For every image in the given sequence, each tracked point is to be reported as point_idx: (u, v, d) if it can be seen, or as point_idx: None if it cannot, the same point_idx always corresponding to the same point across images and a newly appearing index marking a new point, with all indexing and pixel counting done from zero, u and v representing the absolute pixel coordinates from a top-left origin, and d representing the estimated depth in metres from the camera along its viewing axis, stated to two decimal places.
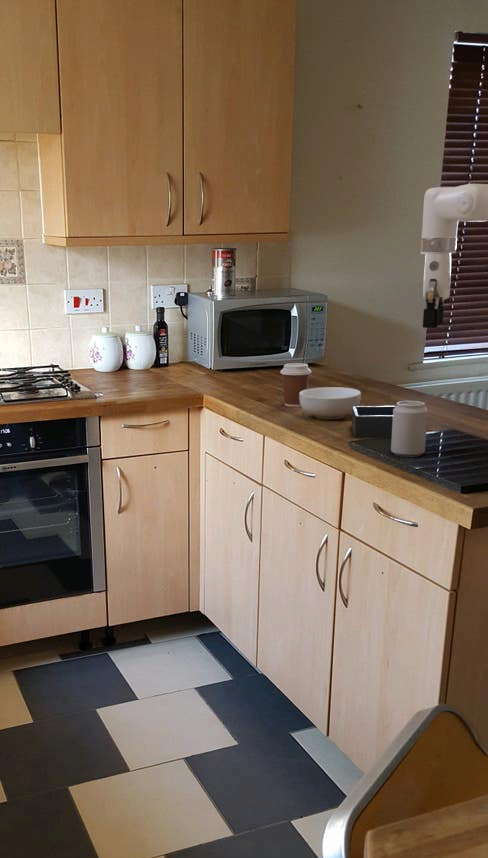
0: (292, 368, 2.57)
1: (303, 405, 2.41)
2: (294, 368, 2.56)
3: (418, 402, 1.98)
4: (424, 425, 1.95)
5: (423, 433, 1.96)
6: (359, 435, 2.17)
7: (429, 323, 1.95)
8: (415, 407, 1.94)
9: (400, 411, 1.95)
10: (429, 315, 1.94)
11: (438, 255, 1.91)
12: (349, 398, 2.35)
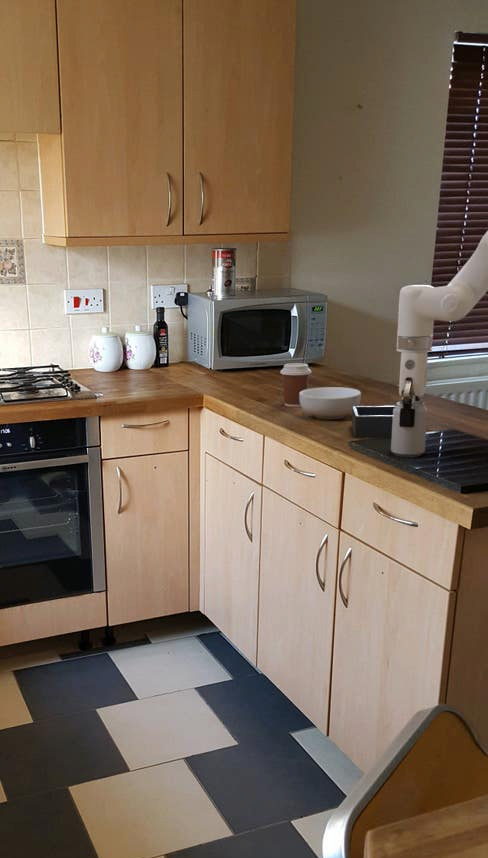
0: (292, 368, 2.57)
1: (303, 405, 2.41)
2: (294, 368, 2.56)
3: (418, 402, 1.98)
4: (424, 425, 1.95)
5: (423, 433, 1.96)
6: (359, 435, 2.17)
7: (405, 423, 1.93)
8: (415, 407, 1.94)
9: None
10: (406, 415, 1.93)
11: (414, 354, 1.88)
12: (349, 398, 2.35)
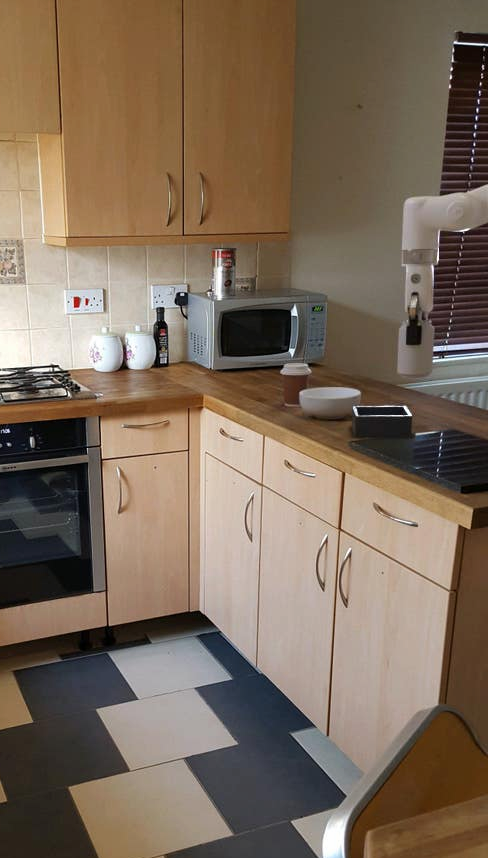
0: (292, 368, 2.57)
1: (303, 405, 2.41)
2: (294, 368, 2.56)
3: (424, 321, 1.92)
4: (431, 343, 1.90)
5: (430, 352, 1.90)
6: (359, 435, 2.17)
7: (412, 340, 1.87)
8: (421, 324, 1.88)
9: None
10: (412, 332, 1.87)
11: (419, 267, 1.83)
12: (349, 398, 2.35)
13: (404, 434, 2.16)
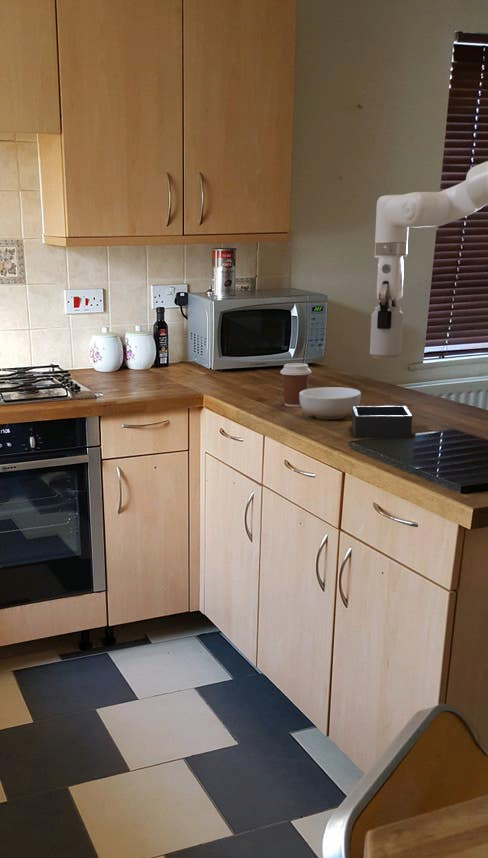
0: (292, 368, 2.57)
1: (303, 405, 2.41)
2: (294, 368, 2.56)
3: (394, 307, 2.13)
4: (400, 327, 2.11)
5: (399, 335, 2.11)
6: (359, 435, 2.17)
7: (383, 324, 2.09)
8: (391, 310, 2.09)
9: (377, 314, 2.10)
10: (383, 317, 2.08)
11: (390, 258, 2.04)
12: (349, 398, 2.35)
13: (404, 434, 2.16)
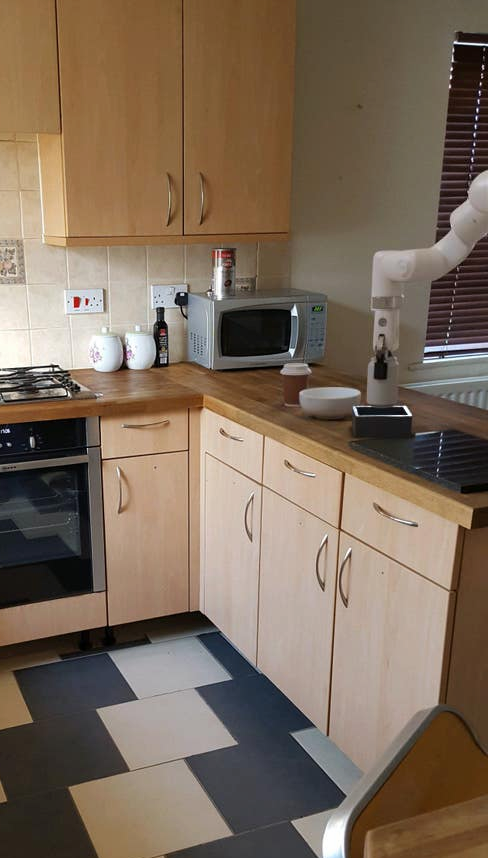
0: (292, 368, 2.57)
1: (303, 405, 2.41)
2: (294, 368, 2.56)
3: (391, 358, 2.18)
4: (396, 378, 2.16)
5: (395, 386, 2.16)
6: (359, 435, 2.17)
7: (379, 375, 2.14)
8: (387, 361, 2.14)
9: None
10: (379, 368, 2.13)
11: (386, 312, 2.09)
12: (349, 398, 2.35)
13: (404, 434, 2.16)
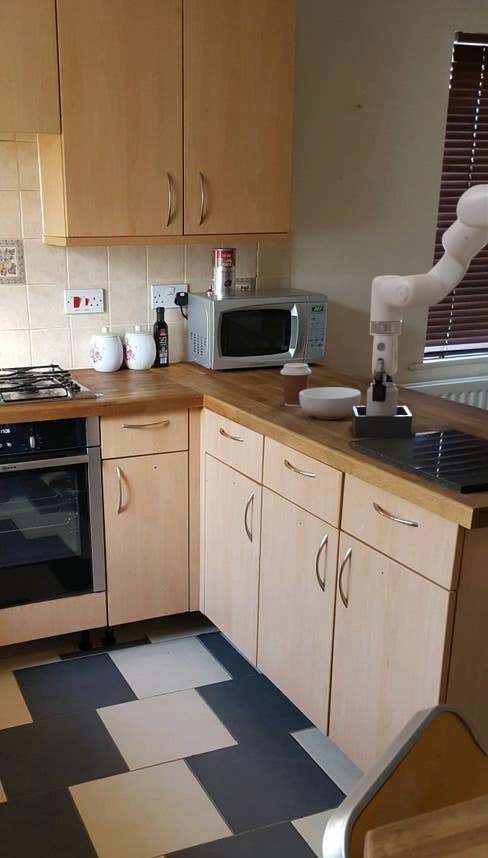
0: (292, 368, 2.57)
1: (303, 405, 2.41)
2: (294, 368, 2.56)
3: (390, 383, 2.20)
4: (395, 403, 2.18)
5: (394, 411, 2.18)
6: (359, 435, 2.17)
7: (377, 397, 2.15)
8: (386, 387, 2.16)
9: None
10: (377, 390, 2.14)
11: (384, 337, 2.11)
12: (349, 398, 2.35)
13: (404, 434, 2.16)
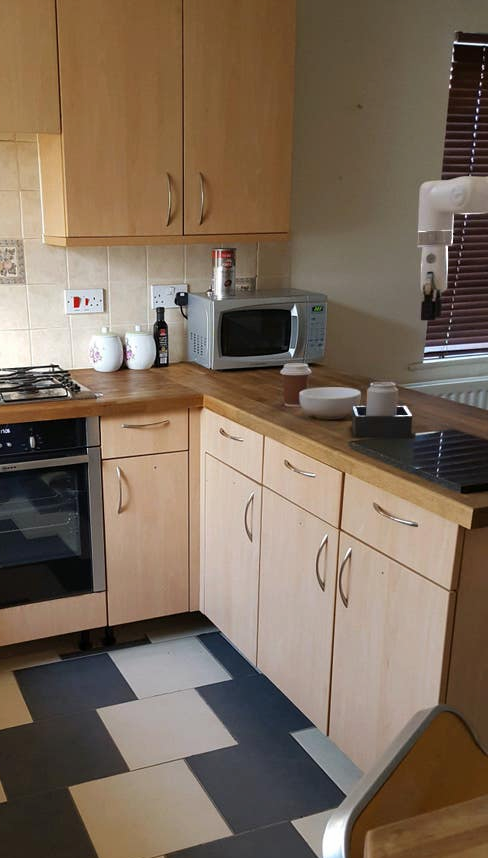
0: (292, 368, 2.57)
1: (303, 405, 2.41)
2: (294, 368, 2.56)
3: (390, 383, 2.20)
4: (395, 403, 2.18)
5: (394, 411, 2.18)
6: (359, 435, 2.17)
7: (427, 315, 1.96)
8: (386, 387, 2.16)
9: (373, 390, 2.17)
10: (427, 307, 1.96)
11: (434, 248, 1.93)
12: (349, 398, 2.35)
13: (404, 434, 2.16)
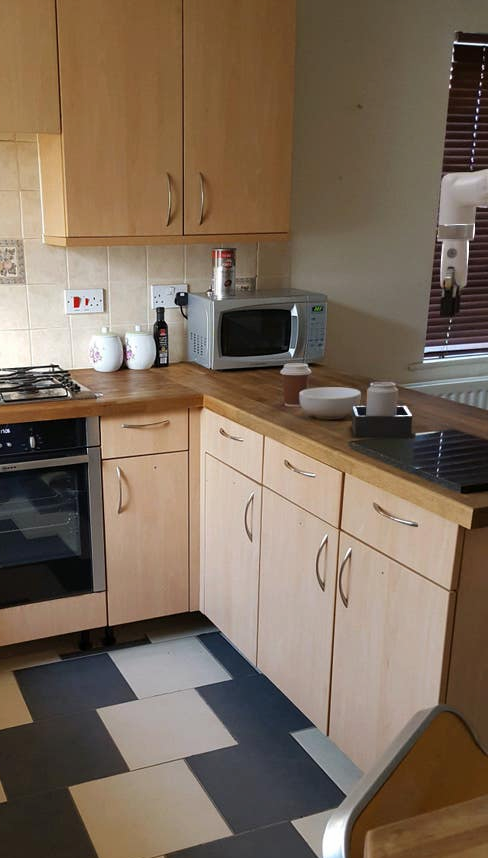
0: (292, 368, 2.57)
1: (303, 405, 2.41)
2: (294, 368, 2.56)
3: (390, 383, 2.20)
4: (395, 403, 2.18)
5: (394, 411, 2.18)
6: (359, 435, 2.17)
7: (446, 312, 1.91)
8: (386, 387, 2.16)
9: (373, 390, 2.17)
10: (447, 303, 1.91)
11: (456, 242, 1.87)
12: (349, 398, 2.35)
13: (404, 434, 2.16)
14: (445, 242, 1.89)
